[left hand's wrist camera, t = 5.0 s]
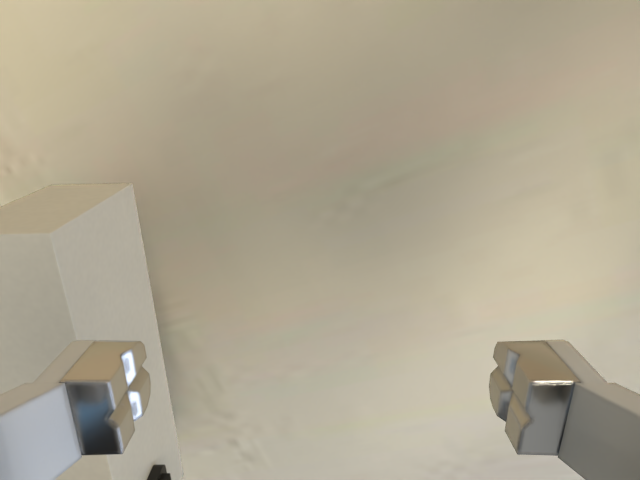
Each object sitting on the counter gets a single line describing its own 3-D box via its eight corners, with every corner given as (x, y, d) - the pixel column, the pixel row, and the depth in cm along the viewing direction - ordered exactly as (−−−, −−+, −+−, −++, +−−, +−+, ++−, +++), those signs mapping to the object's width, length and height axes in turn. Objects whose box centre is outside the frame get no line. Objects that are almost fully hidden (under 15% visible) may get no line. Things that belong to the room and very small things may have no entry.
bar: (50, 184, 27) (-67, 235, 19) (132, 182, 27) (50, 233, 19) (121, 474, 35) (61, 595, 27) (183, 473, 35) (142, 595, 27)
